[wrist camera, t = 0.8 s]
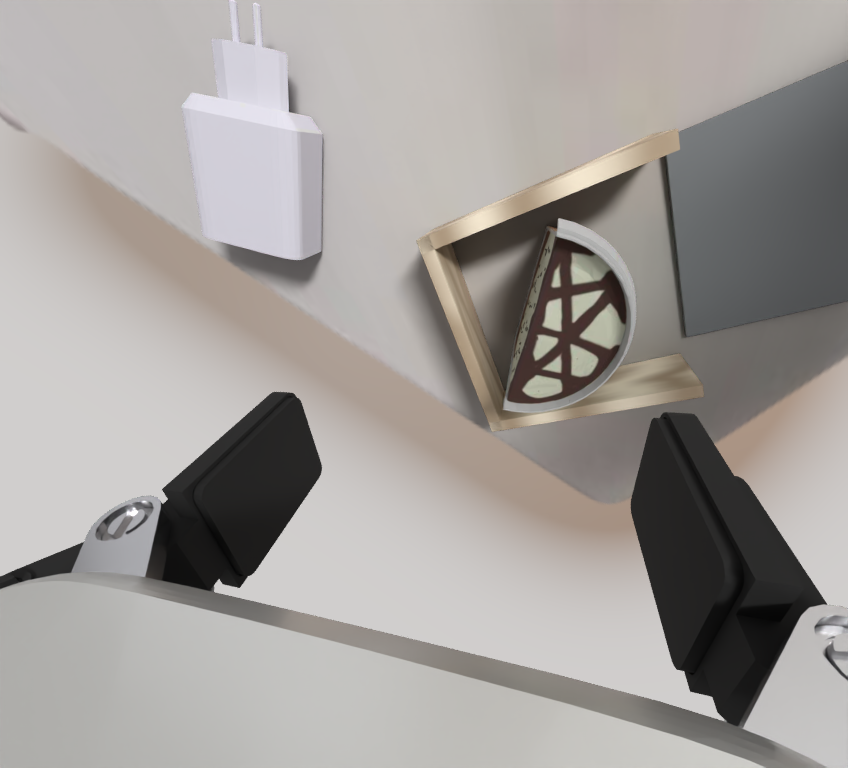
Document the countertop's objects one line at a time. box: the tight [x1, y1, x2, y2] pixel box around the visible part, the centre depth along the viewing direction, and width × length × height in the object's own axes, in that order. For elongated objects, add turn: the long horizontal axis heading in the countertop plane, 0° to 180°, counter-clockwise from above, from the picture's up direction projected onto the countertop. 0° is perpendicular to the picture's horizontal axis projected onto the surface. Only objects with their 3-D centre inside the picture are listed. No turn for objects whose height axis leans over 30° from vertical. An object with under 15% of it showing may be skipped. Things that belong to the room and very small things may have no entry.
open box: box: [416, 129, 704, 432], centre depth 27 cm, size 16×17×5 cm
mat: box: [665, 61, 848, 337], centre depth 24 cm, size 10×14×1 cm
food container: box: [503, 218, 636, 413], centre depth 25 cm, size 12×6×10 cm, turn 173°
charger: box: [181, 0, 323, 260], centre depth 27 cm, size 5×9×15 cm
